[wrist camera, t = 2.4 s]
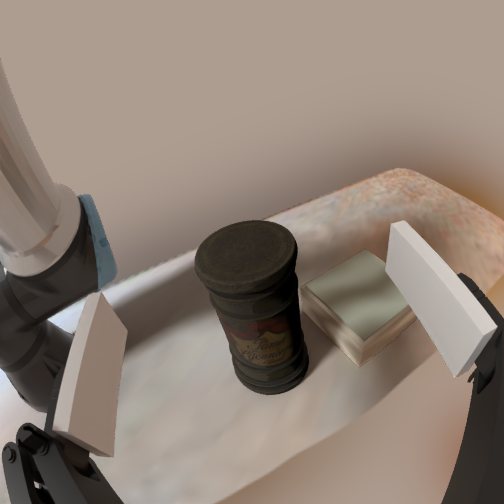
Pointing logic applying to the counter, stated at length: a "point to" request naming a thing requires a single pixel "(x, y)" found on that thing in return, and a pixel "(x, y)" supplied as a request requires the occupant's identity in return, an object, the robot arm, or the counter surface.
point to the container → (257, 302)
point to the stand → (357, 306)
